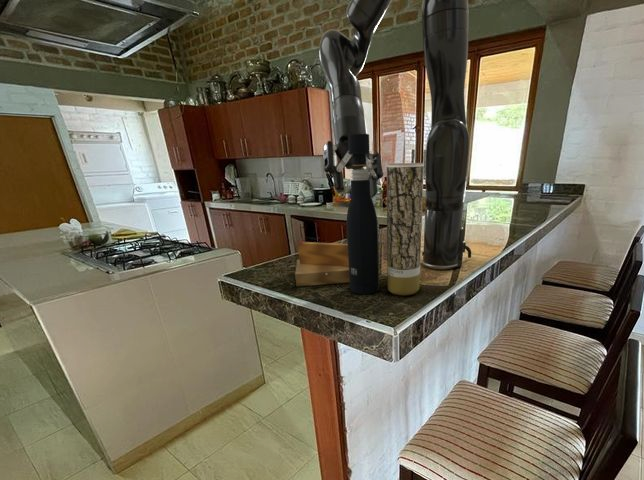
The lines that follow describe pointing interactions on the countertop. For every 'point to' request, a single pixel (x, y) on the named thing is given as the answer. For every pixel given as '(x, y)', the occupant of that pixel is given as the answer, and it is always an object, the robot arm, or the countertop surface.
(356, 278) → the black water bottle
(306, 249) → the tan wooden flat block
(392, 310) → the countertop surface
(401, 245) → the paper tube
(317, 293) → the countertop surface
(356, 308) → the countertop surface
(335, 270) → the wooden box
